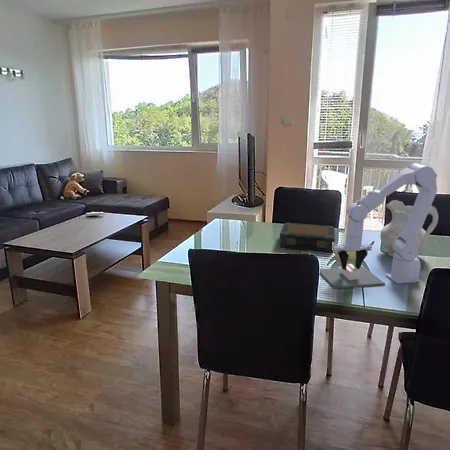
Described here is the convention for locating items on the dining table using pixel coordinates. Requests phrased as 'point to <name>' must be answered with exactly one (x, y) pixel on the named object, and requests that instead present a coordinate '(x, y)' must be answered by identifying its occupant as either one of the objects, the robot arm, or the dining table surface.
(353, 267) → the white rectangular block
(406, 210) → the ceramic pitcher
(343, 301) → the dining table surface
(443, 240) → the dining table surface
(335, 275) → the slate mat
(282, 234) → the cash box
